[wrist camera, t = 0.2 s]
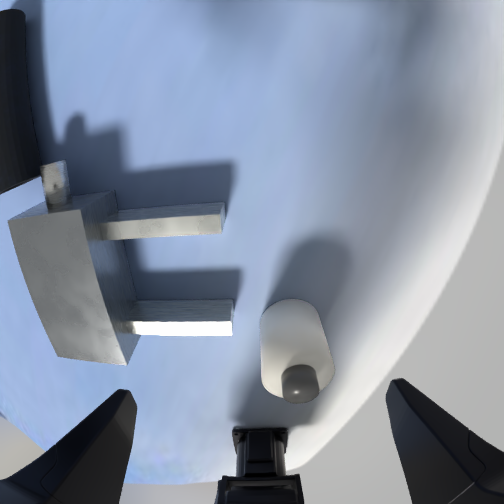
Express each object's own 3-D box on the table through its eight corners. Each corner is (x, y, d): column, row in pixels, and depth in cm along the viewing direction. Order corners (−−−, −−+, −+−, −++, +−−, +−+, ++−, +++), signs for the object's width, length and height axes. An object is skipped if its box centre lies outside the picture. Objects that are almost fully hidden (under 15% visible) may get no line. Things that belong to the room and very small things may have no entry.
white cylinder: (317, 344, 25) (333, 410, 18) (260, 347, 25) (262, 416, 19) (321, 296, 23) (344, 362, 16) (258, 300, 23) (260, 369, 17)
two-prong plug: (235, 326, 24) (232, 369, 20) (81, 323, 25) (57, 356, 20) (219, 135, 18) (209, 137, 14) (39, 165, 19) (-1, 179, 14)
